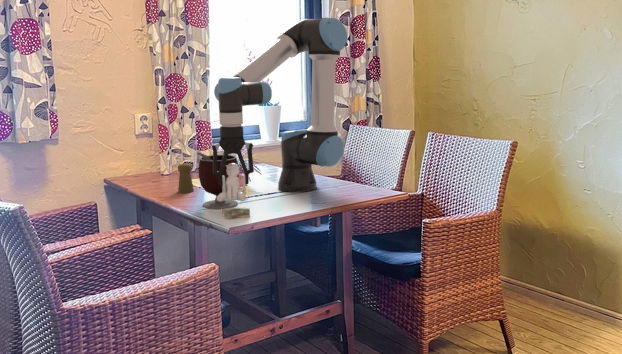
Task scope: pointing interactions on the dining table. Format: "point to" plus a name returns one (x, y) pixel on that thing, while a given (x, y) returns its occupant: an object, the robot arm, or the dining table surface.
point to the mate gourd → (214, 180)
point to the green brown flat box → (236, 213)
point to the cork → (185, 178)
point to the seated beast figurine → (232, 185)
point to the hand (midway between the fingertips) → (234, 194)
